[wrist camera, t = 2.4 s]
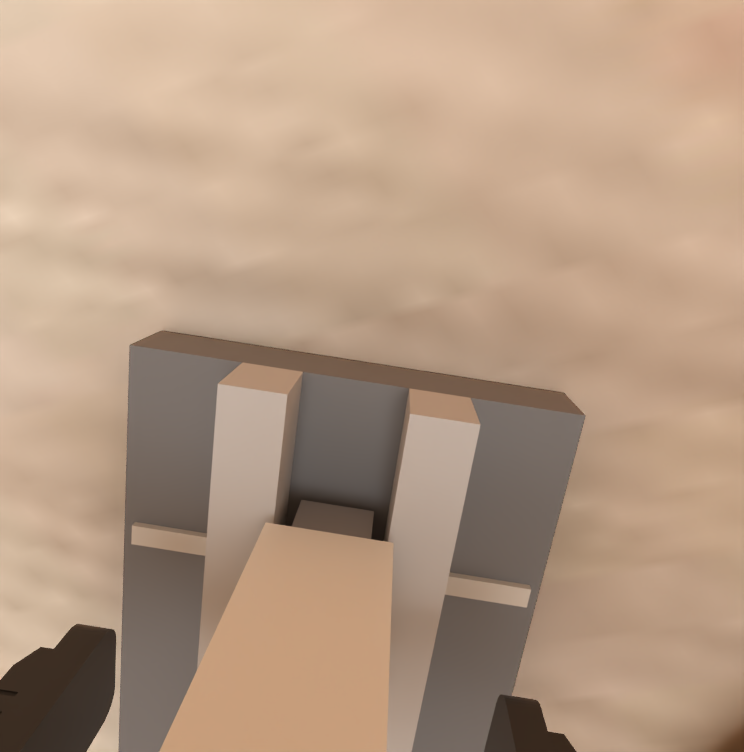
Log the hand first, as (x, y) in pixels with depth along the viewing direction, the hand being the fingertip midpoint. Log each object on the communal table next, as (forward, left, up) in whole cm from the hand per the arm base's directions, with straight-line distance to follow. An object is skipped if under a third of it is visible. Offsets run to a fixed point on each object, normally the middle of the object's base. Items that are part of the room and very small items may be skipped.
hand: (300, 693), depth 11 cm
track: (0, +8, -7) cm, 10 cm away
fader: (0, 0, -4) cm, 4 cm away
